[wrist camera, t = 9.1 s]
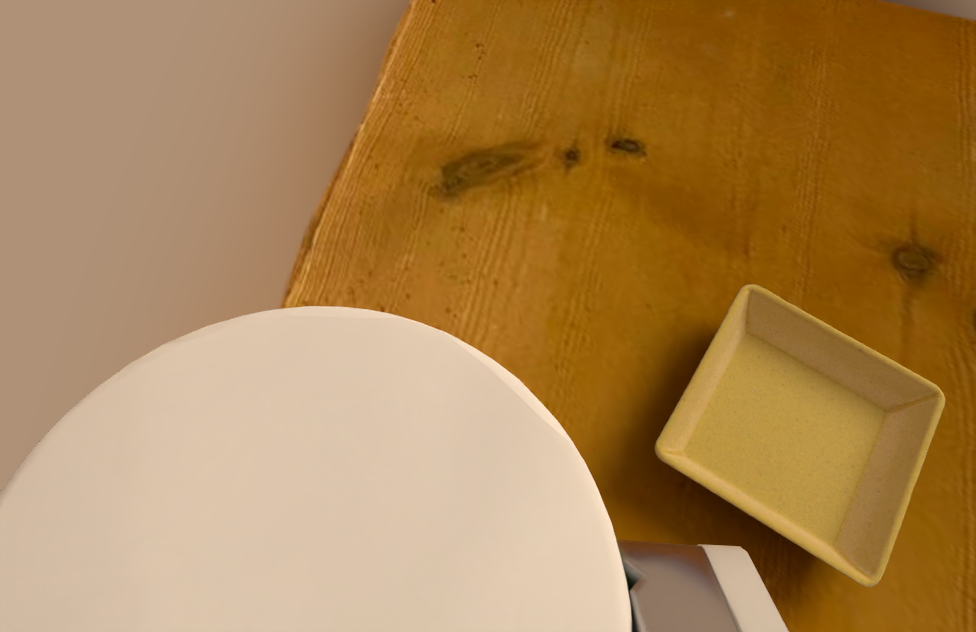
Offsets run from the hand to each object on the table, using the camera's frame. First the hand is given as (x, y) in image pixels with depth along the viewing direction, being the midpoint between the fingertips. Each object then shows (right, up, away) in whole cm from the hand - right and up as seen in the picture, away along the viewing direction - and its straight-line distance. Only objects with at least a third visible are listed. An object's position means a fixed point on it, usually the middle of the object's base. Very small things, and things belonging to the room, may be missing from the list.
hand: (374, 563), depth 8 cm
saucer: (+13, -2, +19) cm, 23 cm away
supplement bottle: (0, -3, +5) cm, 6 cm away
